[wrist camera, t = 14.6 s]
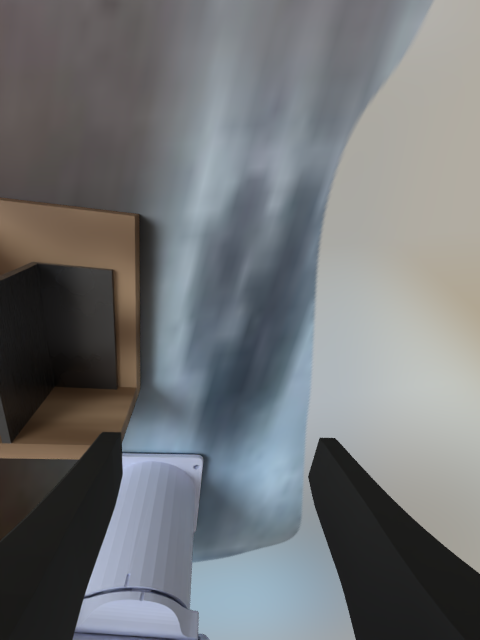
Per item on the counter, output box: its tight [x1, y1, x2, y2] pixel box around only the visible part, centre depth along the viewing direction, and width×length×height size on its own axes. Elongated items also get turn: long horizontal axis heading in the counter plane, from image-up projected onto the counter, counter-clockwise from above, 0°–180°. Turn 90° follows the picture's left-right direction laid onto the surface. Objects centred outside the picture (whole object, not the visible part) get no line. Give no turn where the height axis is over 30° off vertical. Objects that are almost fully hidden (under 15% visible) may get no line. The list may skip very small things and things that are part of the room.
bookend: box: [0, 262, 118, 444], centre depth 16 cm, size 8×4×5 cm, turn 173°
